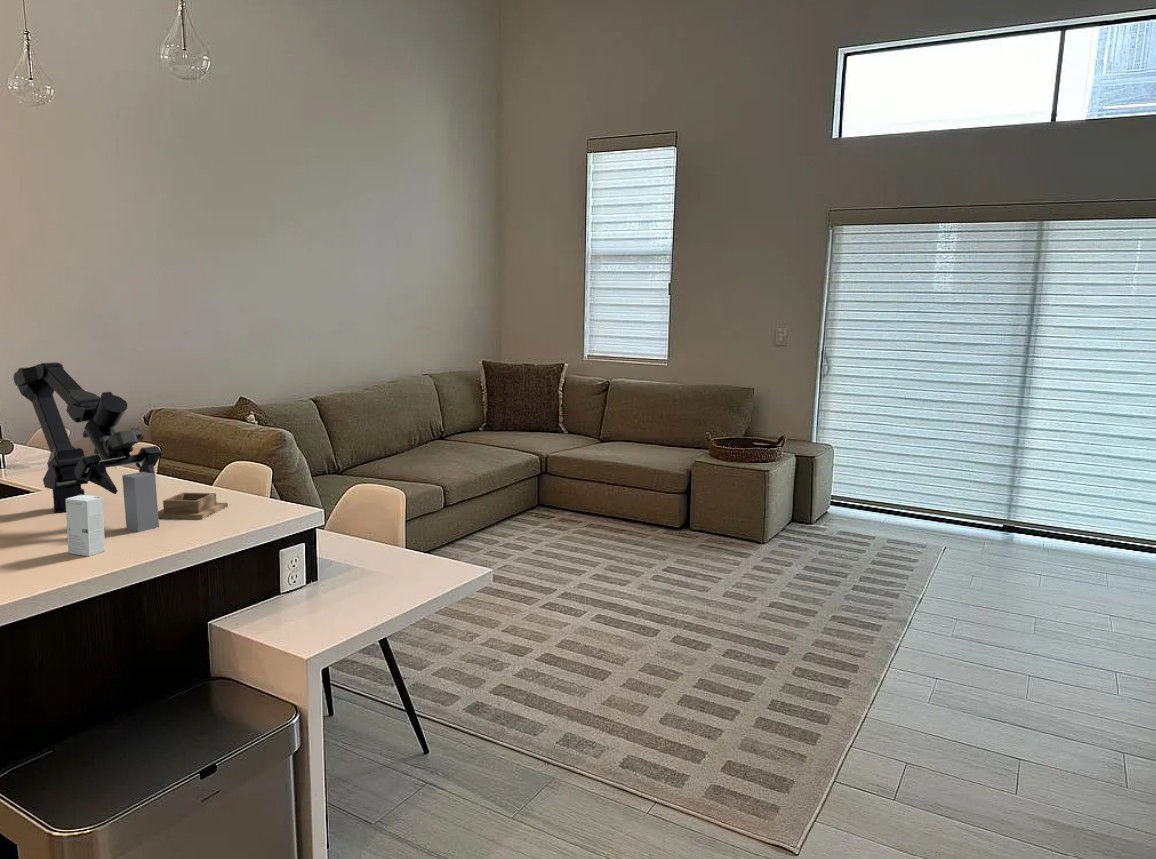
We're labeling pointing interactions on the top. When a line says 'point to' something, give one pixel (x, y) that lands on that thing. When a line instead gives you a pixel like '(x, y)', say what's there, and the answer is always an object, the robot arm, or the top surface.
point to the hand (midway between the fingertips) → (135, 489)
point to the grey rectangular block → (140, 501)
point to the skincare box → (85, 525)
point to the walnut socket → (190, 506)
